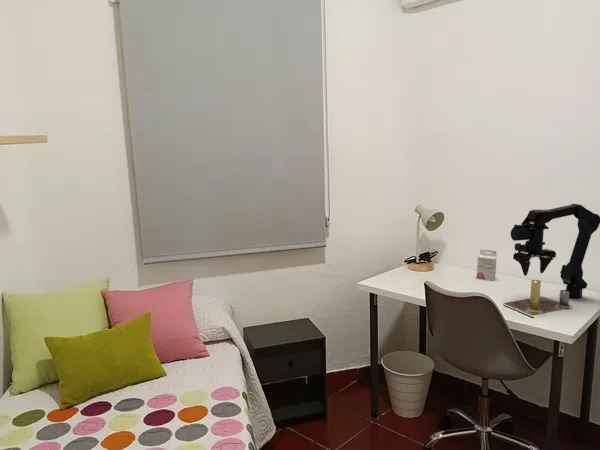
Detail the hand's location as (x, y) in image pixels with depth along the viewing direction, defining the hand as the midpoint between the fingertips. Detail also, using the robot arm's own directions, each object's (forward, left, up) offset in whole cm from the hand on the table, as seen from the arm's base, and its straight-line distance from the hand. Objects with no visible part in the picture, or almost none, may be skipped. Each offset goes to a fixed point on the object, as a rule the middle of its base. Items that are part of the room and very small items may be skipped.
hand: (533, 274), depth 212 cm
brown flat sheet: (+3, +6, -13) cm, 15 cm away
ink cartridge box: (-8, -38, -13) cm, 41 cm away
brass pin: (+10, +11, -12) cm, 19 cm away
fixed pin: (-5, +12, -12) cm, 17 cm away
